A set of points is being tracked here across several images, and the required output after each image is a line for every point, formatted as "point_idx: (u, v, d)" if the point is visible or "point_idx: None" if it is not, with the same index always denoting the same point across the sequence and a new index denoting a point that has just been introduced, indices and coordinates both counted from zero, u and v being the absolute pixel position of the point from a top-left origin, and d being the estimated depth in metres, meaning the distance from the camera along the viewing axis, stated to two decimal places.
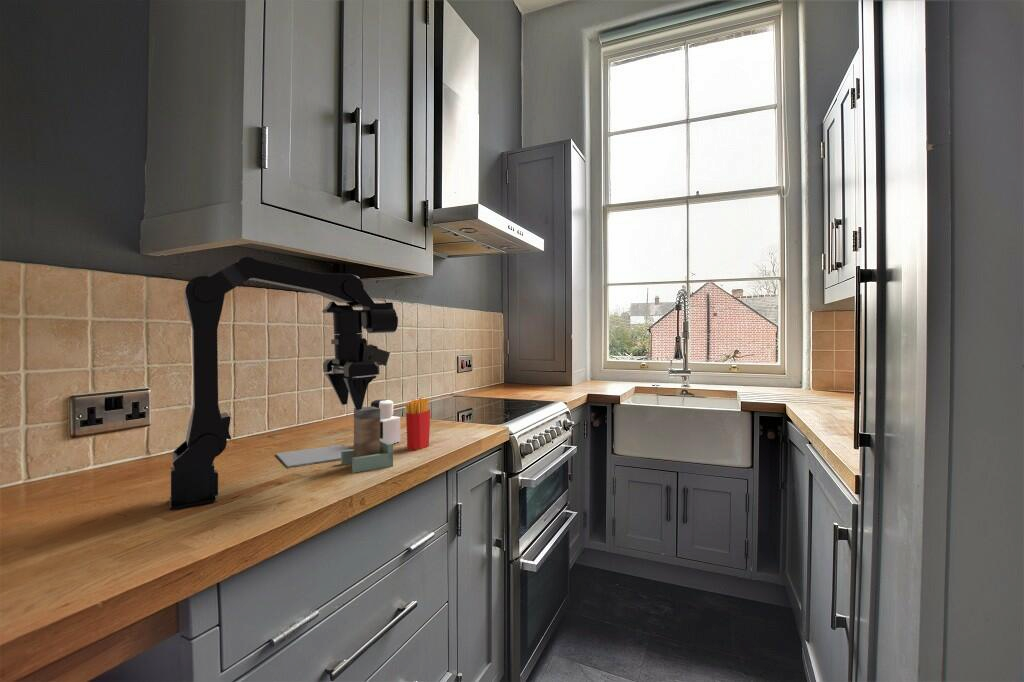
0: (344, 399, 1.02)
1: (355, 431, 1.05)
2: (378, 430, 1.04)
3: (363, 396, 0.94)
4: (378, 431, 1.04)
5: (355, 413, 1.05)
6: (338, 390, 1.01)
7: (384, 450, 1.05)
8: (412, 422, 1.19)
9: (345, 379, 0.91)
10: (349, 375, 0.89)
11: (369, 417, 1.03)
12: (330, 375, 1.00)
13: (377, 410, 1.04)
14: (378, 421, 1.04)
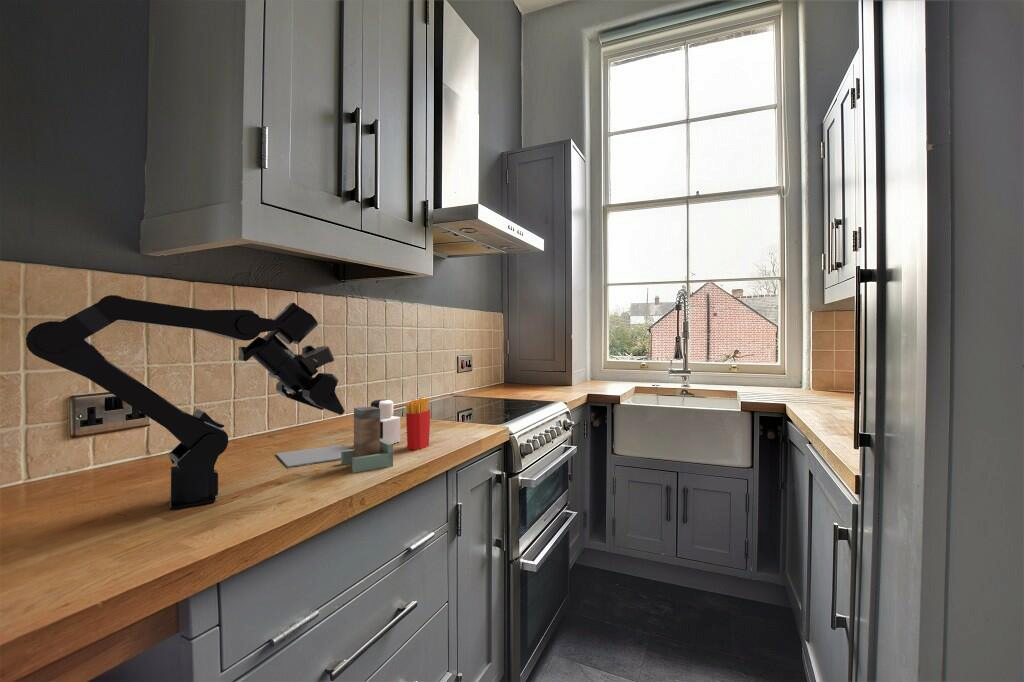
0: None
1: (355, 431, 1.05)
2: (378, 430, 1.04)
3: (338, 402, 0.94)
4: (378, 431, 1.04)
5: (355, 413, 1.05)
6: (309, 403, 1.00)
7: (384, 450, 1.05)
8: (412, 422, 1.19)
9: (313, 404, 0.90)
10: (315, 402, 0.88)
11: (369, 417, 1.03)
12: (292, 397, 0.98)
13: (377, 410, 1.04)
14: (378, 421, 1.04)
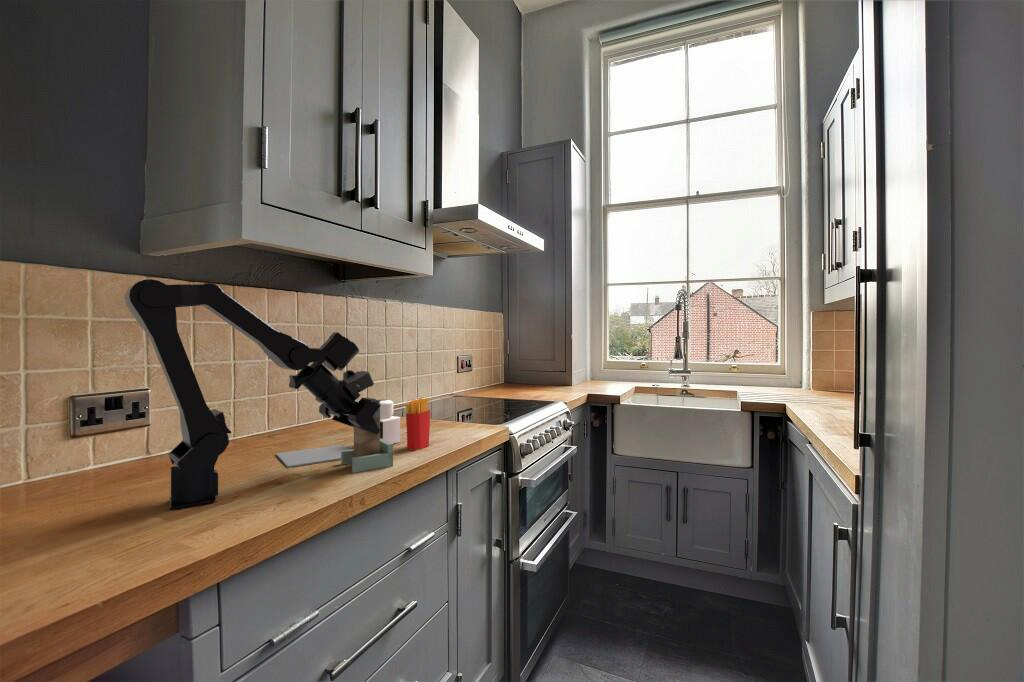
0: None
1: (355, 431, 1.05)
2: None
3: (375, 423, 1.03)
4: None
5: None
6: None
7: (384, 450, 1.05)
8: (412, 422, 1.19)
9: (353, 426, 0.98)
10: (361, 426, 0.95)
11: None
12: (339, 420, 1.04)
13: (377, 410, 1.04)
14: (378, 421, 1.04)
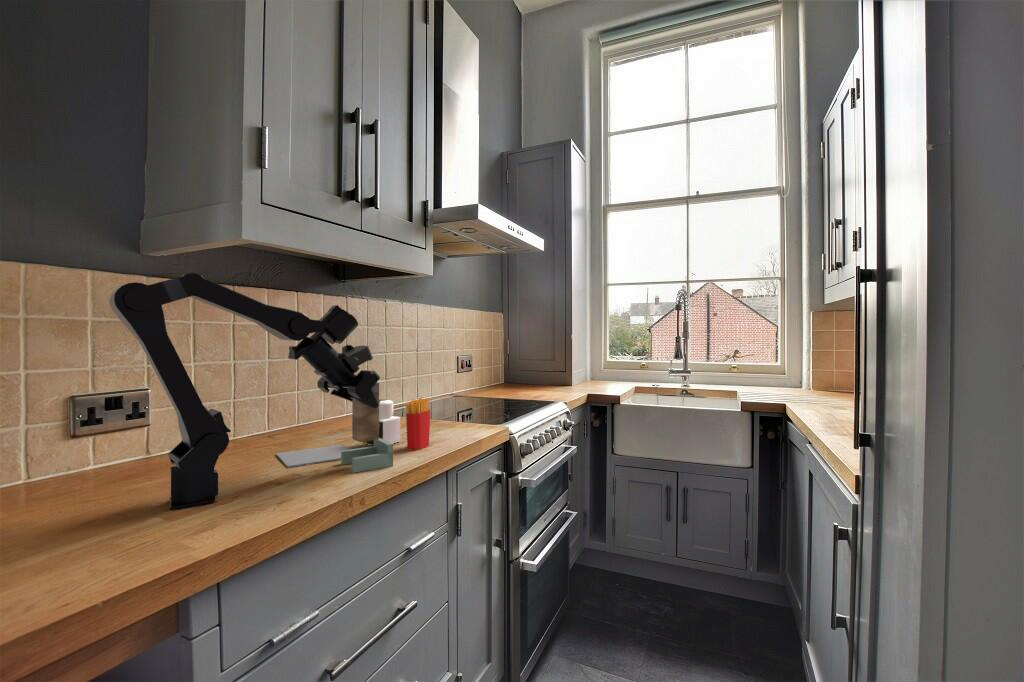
0: None
1: (354, 405, 1.05)
2: None
3: (373, 396, 1.03)
4: None
5: None
6: None
7: (384, 450, 1.05)
8: (412, 422, 1.19)
9: (352, 398, 0.99)
10: (360, 397, 0.95)
11: None
12: (337, 394, 1.04)
13: (376, 384, 1.05)
14: (377, 395, 1.05)
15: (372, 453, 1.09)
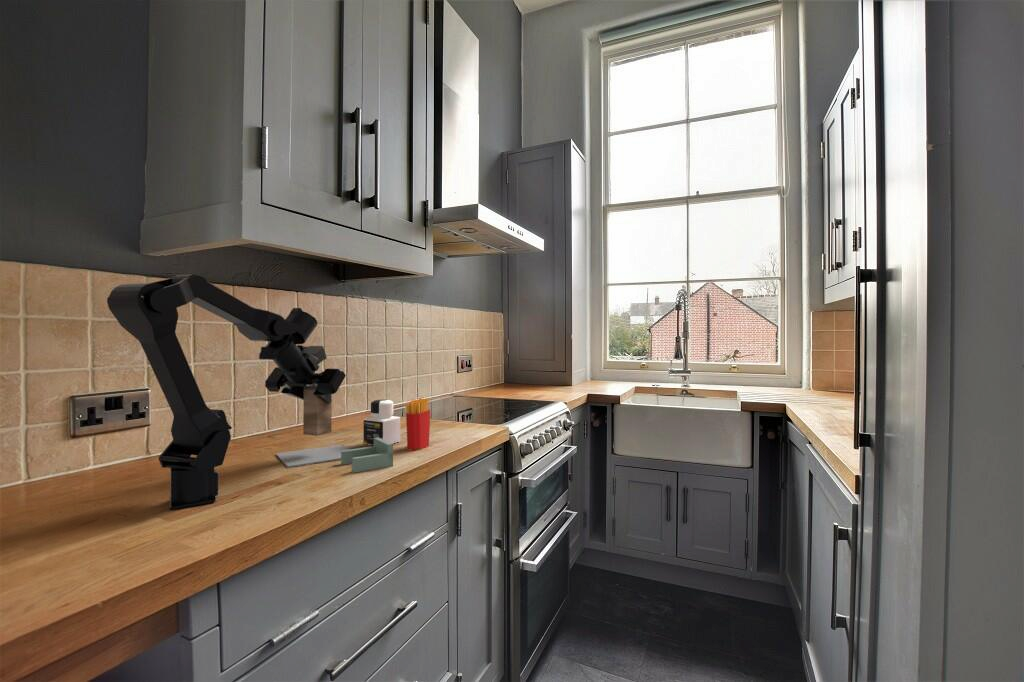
0: None
1: (307, 402, 1.11)
2: None
3: None
4: None
5: (306, 385, 1.11)
6: (303, 396, 1.12)
7: (384, 450, 1.05)
8: (412, 422, 1.19)
9: (317, 394, 1.06)
10: (332, 393, 1.05)
11: None
12: (292, 392, 1.09)
13: None
14: None
15: (372, 453, 1.09)
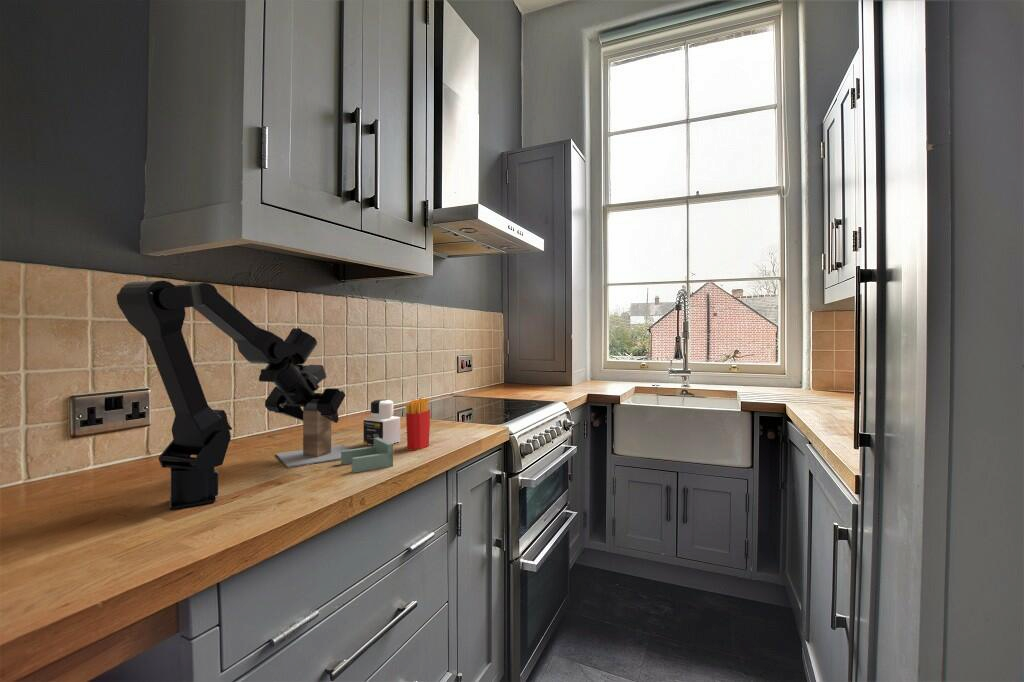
0: None
1: (306, 423, 1.11)
2: (330, 420, 1.14)
3: (337, 412, 1.11)
4: (330, 421, 1.14)
5: (306, 407, 1.11)
6: (296, 415, 1.12)
7: (384, 450, 1.05)
8: (412, 422, 1.19)
9: (324, 415, 1.06)
10: (332, 413, 1.05)
11: None
12: (284, 411, 1.09)
13: None
14: None
15: (372, 453, 1.09)
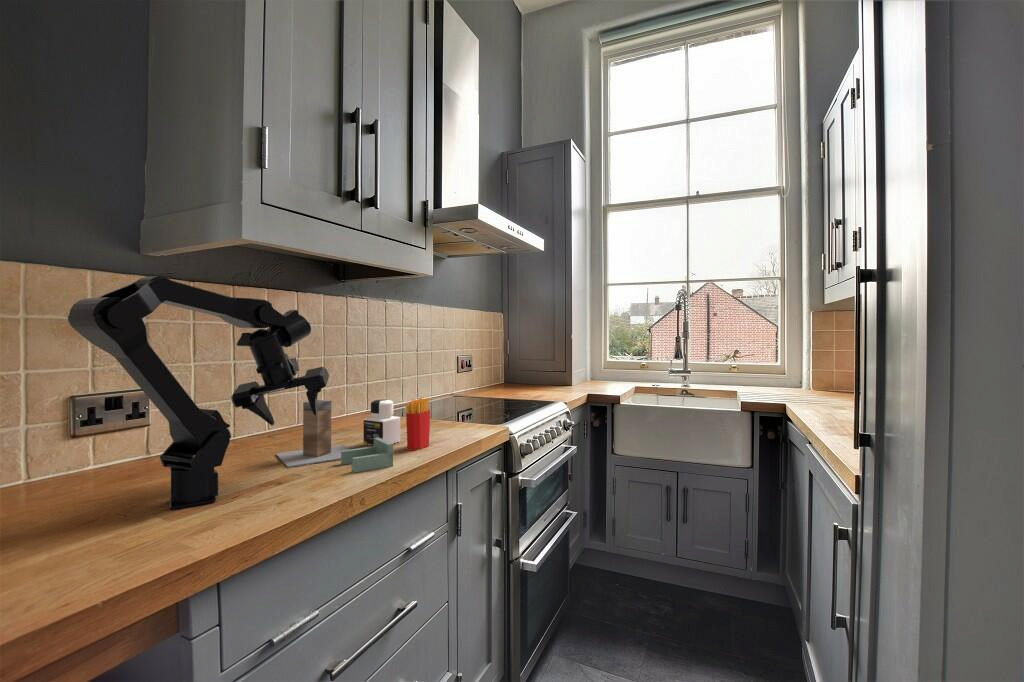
0: (272, 419, 1.01)
1: (306, 423, 1.11)
2: (330, 420, 1.14)
3: None
4: (330, 421, 1.14)
5: (306, 407, 1.11)
6: (266, 414, 0.99)
7: (384, 450, 1.05)
8: (412, 422, 1.19)
9: (311, 393, 0.98)
10: (322, 386, 0.98)
11: (323, 409, 1.12)
12: (256, 404, 0.97)
13: (329, 402, 1.14)
14: (330, 412, 1.14)
15: (372, 453, 1.09)
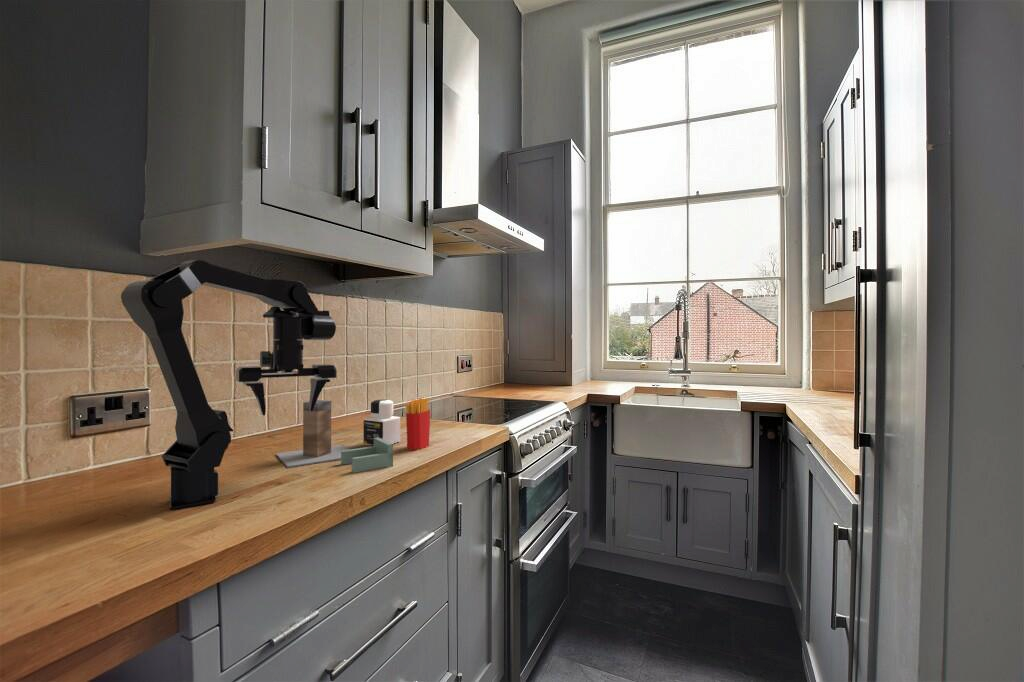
0: None
1: (306, 423, 1.11)
2: (330, 420, 1.14)
3: None
4: (330, 421, 1.14)
5: (306, 407, 1.11)
6: (264, 400, 0.94)
7: (384, 450, 1.05)
8: (412, 422, 1.19)
9: (322, 381, 0.99)
10: (334, 376, 1.01)
11: (323, 409, 1.12)
12: None
13: (329, 402, 1.14)
14: (330, 412, 1.14)
15: (372, 453, 1.09)
